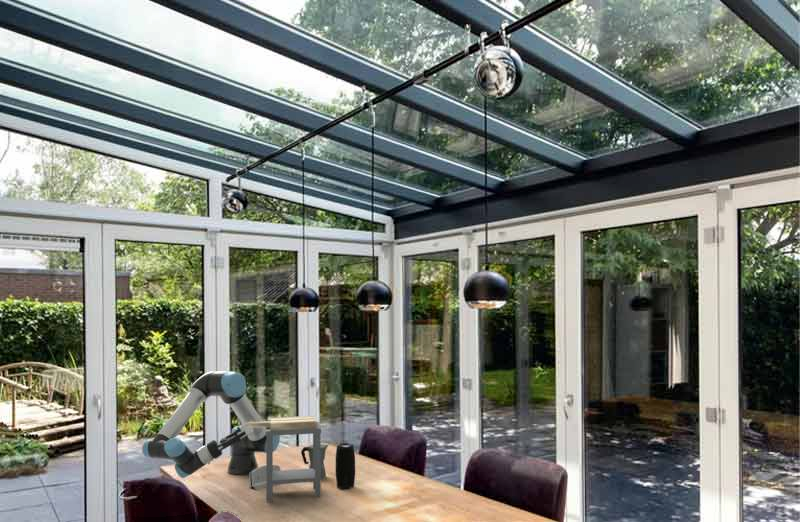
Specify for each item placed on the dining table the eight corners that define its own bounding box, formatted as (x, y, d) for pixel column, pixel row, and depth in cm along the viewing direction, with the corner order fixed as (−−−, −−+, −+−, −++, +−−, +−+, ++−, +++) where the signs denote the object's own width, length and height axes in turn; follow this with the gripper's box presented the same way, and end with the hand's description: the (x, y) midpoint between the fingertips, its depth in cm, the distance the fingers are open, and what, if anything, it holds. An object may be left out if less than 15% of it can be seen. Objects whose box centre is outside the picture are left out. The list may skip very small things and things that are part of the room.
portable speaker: (339, 484, 292) (339, 442, 294) (358, 485, 290) (357, 443, 291) (332, 489, 284) (332, 446, 285) (352, 490, 281) (351, 446, 283)
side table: (266, 490, 284) (266, 424, 286) (319, 486, 288) (318, 421, 291) (265, 502, 266) (265, 431, 269) (321, 498, 271) (321, 428, 273)
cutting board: (246, 425, 284) (246, 419, 284) (314, 422, 289) (314, 415, 290) (244, 432, 268) (244, 425, 268) (316, 428, 274) (316, 421, 274)
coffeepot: (323, 473, 313) (323, 437, 315) (333, 476, 306) (333, 439, 308) (296, 478, 304) (296, 441, 305) (306, 482, 296) (306, 444, 298)
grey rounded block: (254, 489, 285) (251, 467, 288) (250, 491, 288) (246, 469, 292) (285, 482, 297) (281, 461, 300) (280, 484, 300) (276, 463, 303)
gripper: (217, 452, 284) (258, 427, 288) (211, 466, 260) (255, 437, 264) (209, 439, 284) (250, 413, 288) (202, 450, 260) (246, 422, 264)
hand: (253, 425), depth 276 cm, fingers open, 13 cm apart
